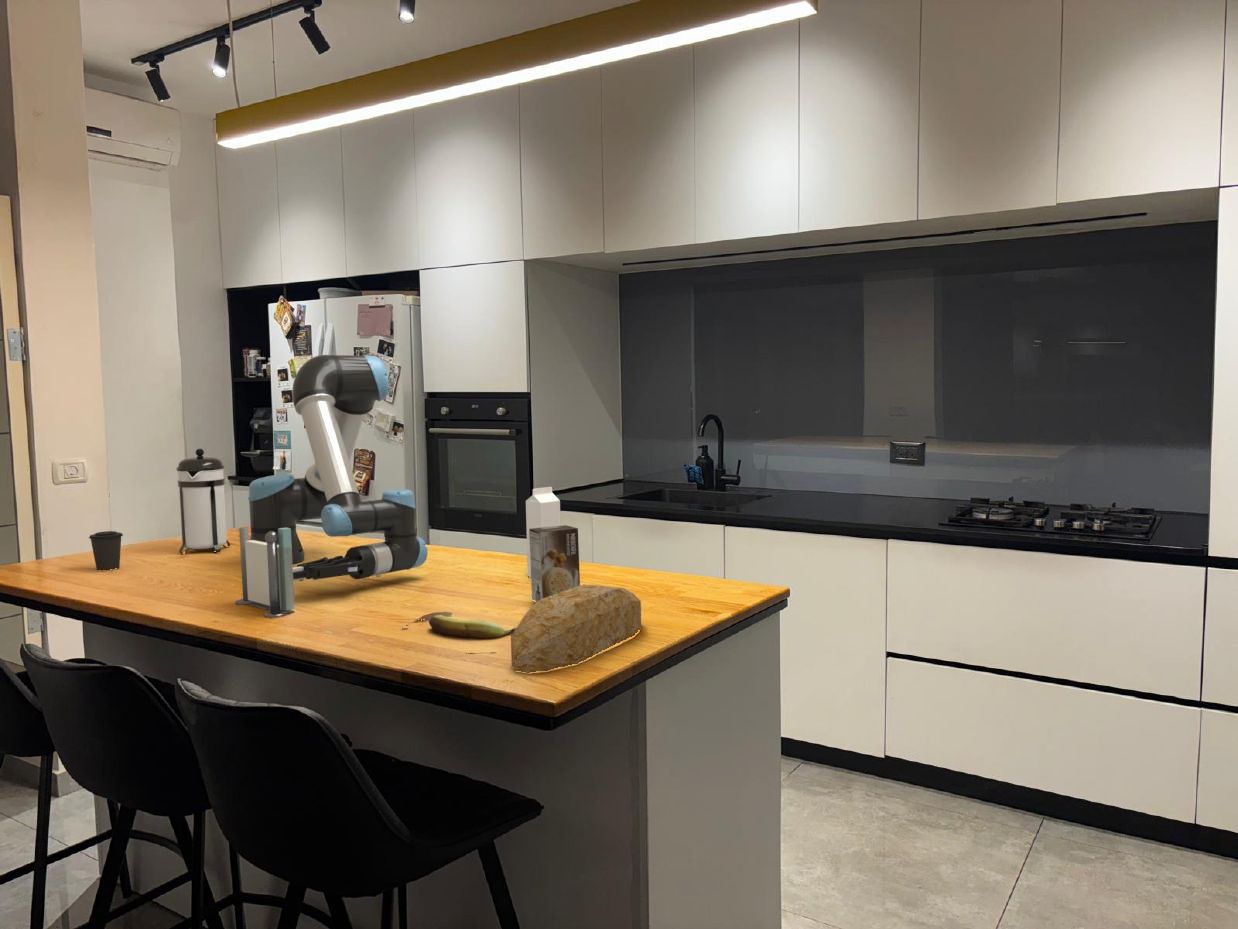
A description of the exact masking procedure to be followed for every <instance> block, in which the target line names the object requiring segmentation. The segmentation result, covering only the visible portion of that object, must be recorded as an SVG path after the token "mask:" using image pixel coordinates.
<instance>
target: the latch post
mask: <svg viewBox="0 0 1238 929" xmlns="http://www.w3.org/2000/svg"><path fill="white" fill-rule="evenodd" d="M265 540H266V542H267V558H268V578H269V598H270V611H268V612H265V613H263V615H264V616H266V617H265V618H268V617H275V618H280V617H279V616H282V617H284V616H287V615H288V614H287V612H286V611H280V593H279V572H278V551H277V541H278V534H277V533H276V532H273V531H271V532H268V533H267V534H266V535H265ZM264 616H263V617H264Z"/></svg>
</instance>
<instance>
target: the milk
mask: <svg viewBox="0 0 1238 929" xmlns="http://www.w3.org/2000/svg"><path fill="white" fill-rule="evenodd" d="M525 515H526V516H525V518H526V519H525V521H526V524H525V525H526V557H527V558H526V562H527V567H526V568H527V577H528V576H529V577H531V560H530V533H529V529H531V528H542V527H552V526H561V501H560V498H558V497H557V496H556V495H555V494H554V493H553V487H552V486H546V487H536V488H533V489H532V495H531V496H530V497H528V498H527V499H526V500H525ZM529 577H528V578H529Z"/></svg>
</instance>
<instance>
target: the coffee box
mask: <svg viewBox="0 0 1238 929" xmlns="http://www.w3.org/2000/svg"><path fill="white" fill-rule="evenodd" d="M529 533H530V560H531V578H530V583H531V600H532V599H533V600H535V601H536V602H537V601H539V600H540V599H543V598H546V597H549V596H552V595H554V594H557V593H560V592H563V591H566V590H569V589H572V588H575V587H577V586H580V585H581V578H580V576H581V575H580V571H581V570H580V551H579V550H580V548H579V528H578V527H574V526H571V525H566V524H565V525H564V524H563V525H560V526H552V527H542V528H531V529H529ZM536 602H535V603H536Z"/></svg>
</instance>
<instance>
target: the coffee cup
mask: <svg viewBox="0 0 1238 929" xmlns="http://www.w3.org/2000/svg"><path fill="white" fill-rule="evenodd" d="M123 536H124V534H123V532H120V531H119V532H118V531H115V530H112V531H111V530H108V531H106V530H105V531H100V532H99V531H98V532H95V533H94V534H90V535H89V536H88V539H90V542H91V543H90V544H91V548H92V553H93V559H94V563H95V569H96V571H97V570H110V569H115V568H119V569H120V565H121V562H120V561H121V550H122V549H121V548H122V547H121V546H122V537H123Z"/></svg>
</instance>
